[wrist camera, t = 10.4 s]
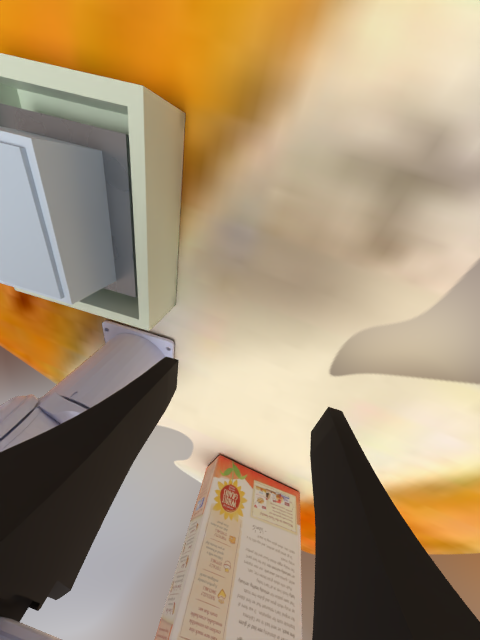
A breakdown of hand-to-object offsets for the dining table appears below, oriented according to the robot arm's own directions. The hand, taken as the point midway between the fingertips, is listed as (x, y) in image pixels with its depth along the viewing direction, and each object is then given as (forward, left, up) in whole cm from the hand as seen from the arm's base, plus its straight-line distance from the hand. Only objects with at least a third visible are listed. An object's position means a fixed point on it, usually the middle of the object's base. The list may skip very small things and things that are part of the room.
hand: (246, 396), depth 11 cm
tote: (+4, +14, -10) cm, 18 cm away
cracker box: (-30, -6, -10) cm, 33 cm away
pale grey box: (+4, +14, -7) cm, 16 cm away
